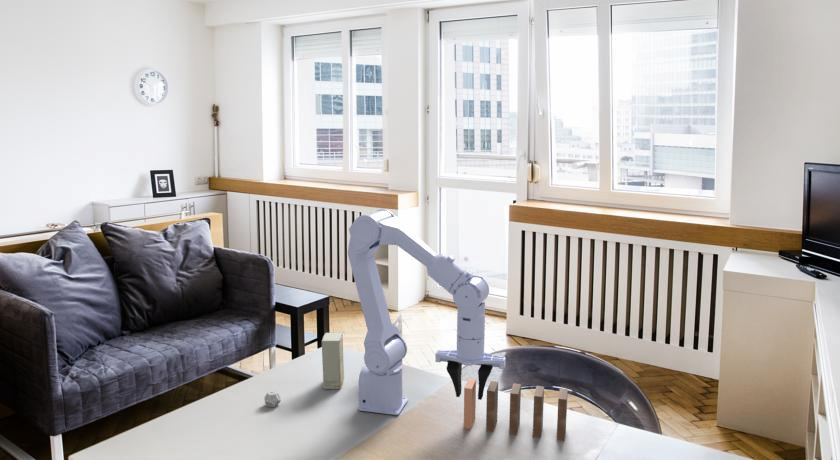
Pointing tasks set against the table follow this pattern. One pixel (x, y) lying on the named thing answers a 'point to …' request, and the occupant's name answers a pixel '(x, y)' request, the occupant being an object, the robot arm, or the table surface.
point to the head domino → (469, 403)
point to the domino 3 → (538, 411)
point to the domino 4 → (562, 414)
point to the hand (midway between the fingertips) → (469, 396)
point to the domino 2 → (515, 409)
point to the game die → (272, 399)
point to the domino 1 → (492, 406)
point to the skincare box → (332, 360)
